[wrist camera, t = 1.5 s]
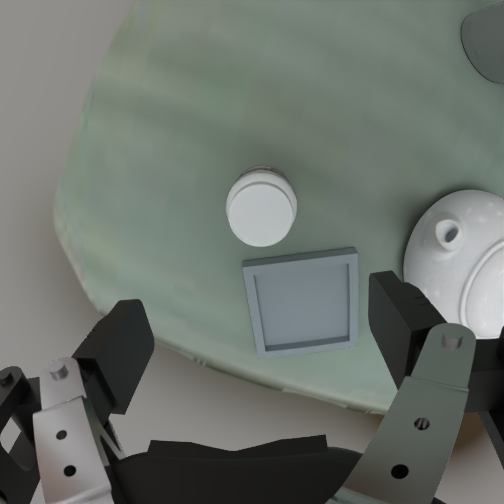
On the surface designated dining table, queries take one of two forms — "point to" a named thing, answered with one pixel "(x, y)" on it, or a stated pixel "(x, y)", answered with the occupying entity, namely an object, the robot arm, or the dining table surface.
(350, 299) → the dish
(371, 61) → the dining table surface
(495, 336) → the teapot
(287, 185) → the pill bottle
